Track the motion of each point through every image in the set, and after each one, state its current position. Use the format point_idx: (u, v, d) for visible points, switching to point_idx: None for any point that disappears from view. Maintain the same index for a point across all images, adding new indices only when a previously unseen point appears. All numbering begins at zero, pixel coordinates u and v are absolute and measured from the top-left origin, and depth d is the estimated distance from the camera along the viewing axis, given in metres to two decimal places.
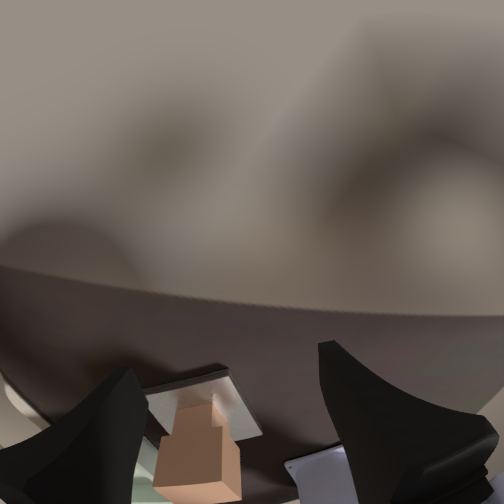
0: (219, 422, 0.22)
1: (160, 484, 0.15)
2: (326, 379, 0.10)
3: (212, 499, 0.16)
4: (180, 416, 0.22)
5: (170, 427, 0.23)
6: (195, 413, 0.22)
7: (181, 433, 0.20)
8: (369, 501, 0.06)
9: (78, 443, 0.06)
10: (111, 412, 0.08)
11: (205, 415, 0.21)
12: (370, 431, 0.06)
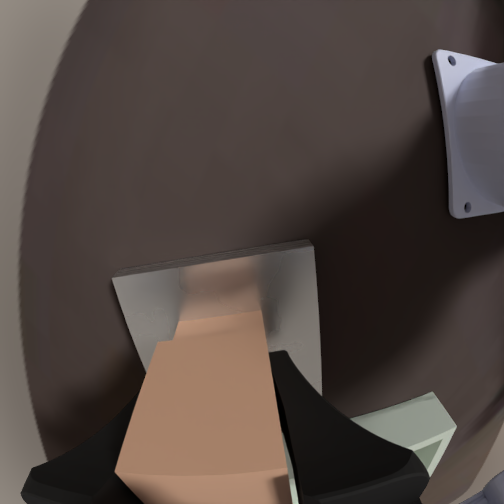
0: (209, 332, 0.11)
1: None
2: None
3: None
4: None
5: None
6: None
7: None
8: None
9: None
10: None
11: None
12: (292, 449, 0.06)
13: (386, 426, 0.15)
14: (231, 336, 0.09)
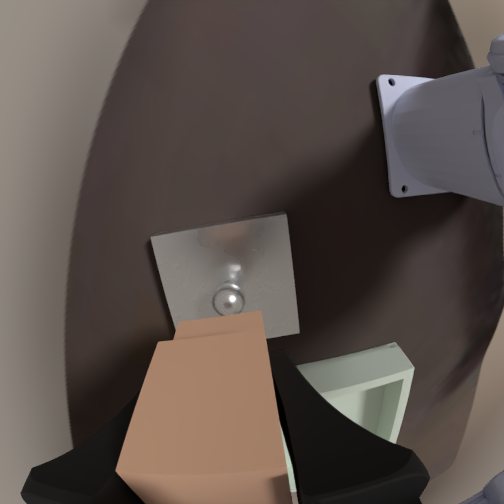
0: (209, 332, 0.11)
1: None
2: None
3: None
4: None
5: None
6: None
7: None
8: None
9: None
10: None
11: None
12: (292, 449, 0.06)
13: (354, 365, 0.21)
14: (231, 336, 0.09)
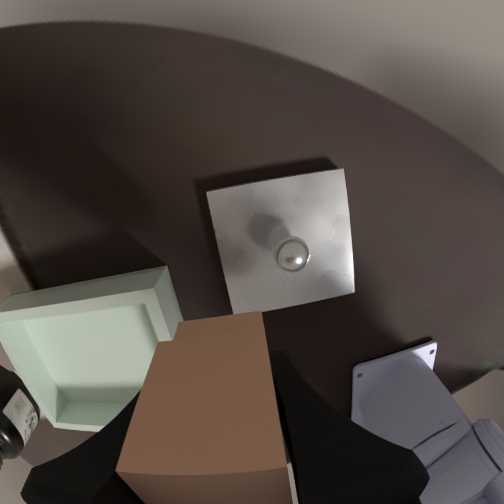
0: (209, 332, 0.11)
1: None
2: None
3: None
4: None
5: (232, 261, 0.18)
6: None
7: None
8: None
9: None
10: None
11: None
12: (292, 449, 0.06)
13: None
14: (231, 336, 0.09)
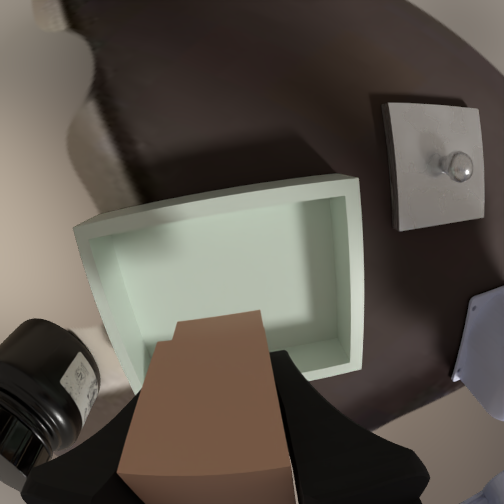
0: (208, 331, 0.11)
1: None
2: None
3: None
4: None
5: (405, 172, 0.17)
6: None
7: None
8: None
9: None
10: None
11: None
12: (292, 449, 0.06)
13: None
14: (231, 335, 0.09)
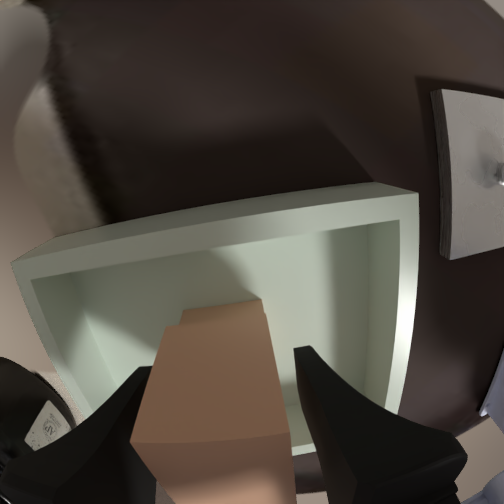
0: (212, 319, 0.12)
1: None
2: (300, 384, 0.10)
3: (262, 478, 0.06)
4: None
5: (461, 182, 0.11)
6: None
7: None
8: None
9: (105, 446, 0.06)
10: (135, 412, 0.08)
11: None
12: (332, 441, 0.06)
13: None
14: (235, 320, 0.10)
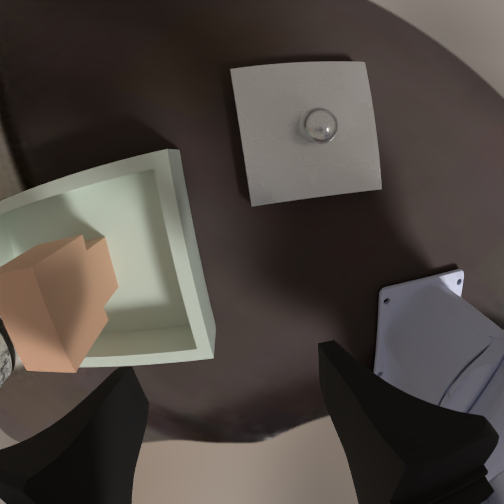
0: None
1: None
2: (326, 379, 0.10)
3: (34, 310, 0.11)
4: None
5: (253, 140, 0.16)
6: None
7: None
8: (369, 501, 0.06)
9: (78, 443, 0.06)
10: (111, 412, 0.08)
11: None
12: (370, 431, 0.06)
13: (201, 282, 0.18)
14: (66, 238, 0.14)
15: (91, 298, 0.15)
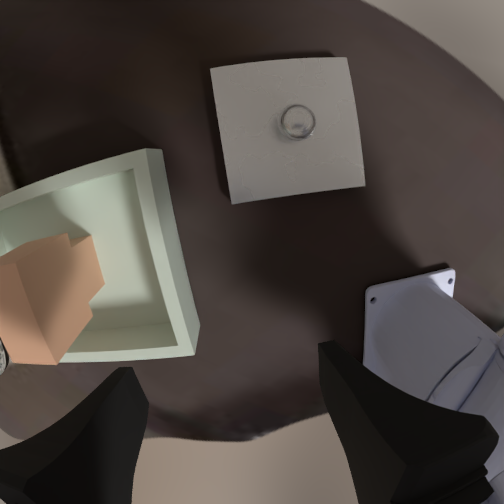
0: None
1: None
2: (326, 379, 0.10)
3: (18, 303, 0.11)
4: None
5: (232, 138, 0.16)
6: None
7: None
8: (369, 501, 0.06)
9: (78, 443, 0.06)
10: (111, 412, 0.08)
11: None
12: (371, 431, 0.06)
13: (183, 279, 0.18)
14: (52, 236, 0.15)
15: (75, 294, 0.15)
